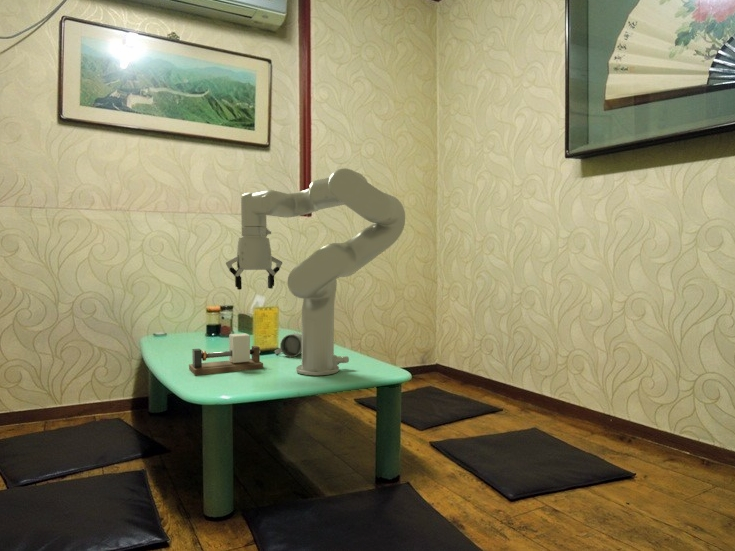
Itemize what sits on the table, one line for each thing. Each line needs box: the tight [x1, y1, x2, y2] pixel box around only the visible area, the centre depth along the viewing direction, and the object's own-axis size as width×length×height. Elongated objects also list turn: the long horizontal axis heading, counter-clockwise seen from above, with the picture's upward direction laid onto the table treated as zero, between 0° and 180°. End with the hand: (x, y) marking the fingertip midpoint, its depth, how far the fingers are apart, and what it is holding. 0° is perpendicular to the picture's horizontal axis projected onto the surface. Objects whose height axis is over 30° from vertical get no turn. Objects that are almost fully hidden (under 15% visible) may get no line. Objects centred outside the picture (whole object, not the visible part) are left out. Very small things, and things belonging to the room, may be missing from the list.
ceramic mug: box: [273, 332, 302, 358], centre depth 175 cm, size 11×8×8 cm
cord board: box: [188, 345, 264, 376], centre depth 153 cm, size 20×9×6 cm, turn 119°
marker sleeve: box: [228, 332, 251, 363], centre depth 154 cm, size 5×5×8 cm
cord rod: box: [191, 348, 254, 368], centre depth 152 cm, size 18×3×5 cm, turn 119°
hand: (255, 288), depth 156 cm, fingers open, 9 cm apart
